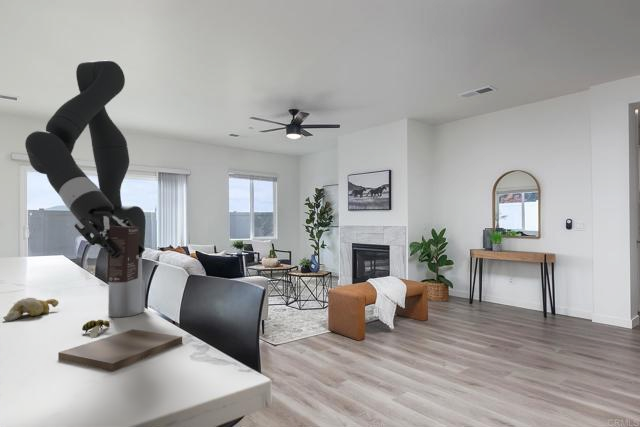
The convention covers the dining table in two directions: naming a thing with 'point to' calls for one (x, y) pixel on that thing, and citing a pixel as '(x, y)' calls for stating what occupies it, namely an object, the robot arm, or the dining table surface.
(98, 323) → the insect
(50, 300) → the yellow plush toy
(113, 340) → the board
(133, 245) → the box
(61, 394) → the dining table surface
